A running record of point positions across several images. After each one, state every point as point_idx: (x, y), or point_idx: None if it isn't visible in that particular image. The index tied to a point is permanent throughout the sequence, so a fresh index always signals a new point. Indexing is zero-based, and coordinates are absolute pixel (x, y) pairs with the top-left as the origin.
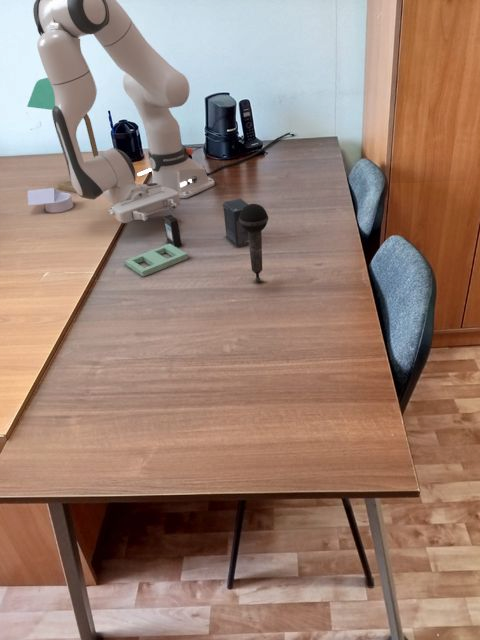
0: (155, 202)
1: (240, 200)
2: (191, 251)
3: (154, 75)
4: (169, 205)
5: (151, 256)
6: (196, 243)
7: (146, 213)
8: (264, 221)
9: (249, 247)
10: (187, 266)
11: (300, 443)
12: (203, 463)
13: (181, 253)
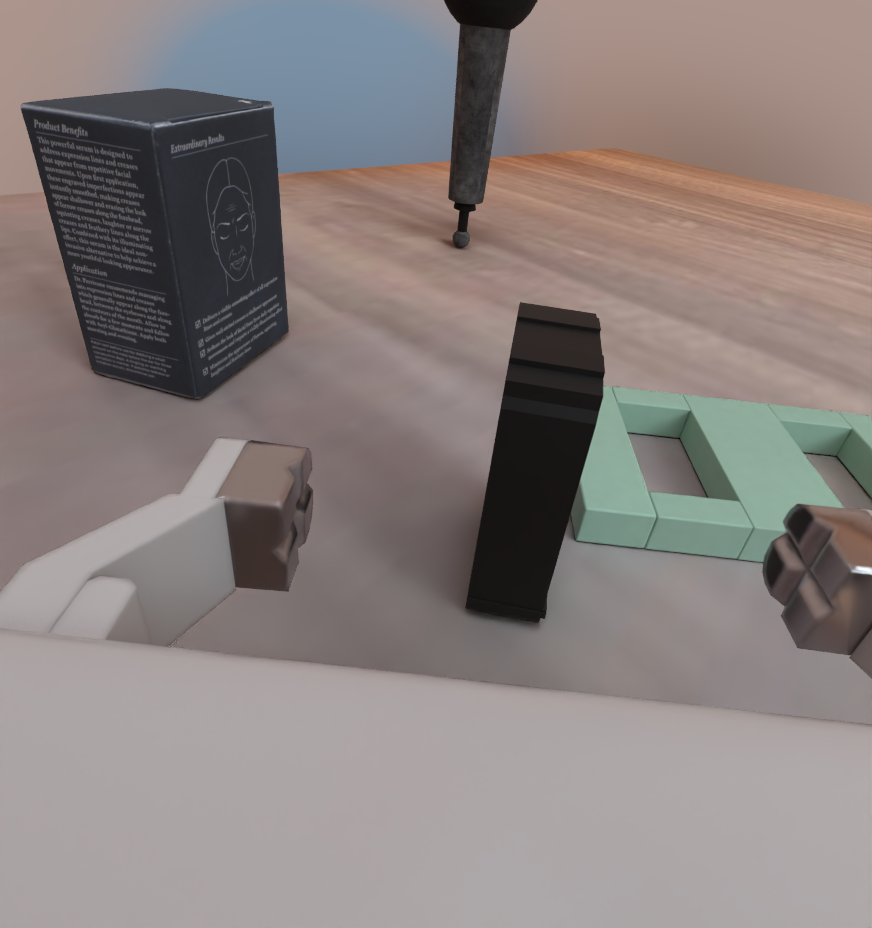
0: (477, 688)
1: (71, 99)
2: (485, 436)
3: None
4: (289, 516)
5: (782, 474)
6: (384, 469)
7: (830, 516)
8: None
9: (496, 106)
10: None
11: (683, 174)
12: (811, 198)
13: None
